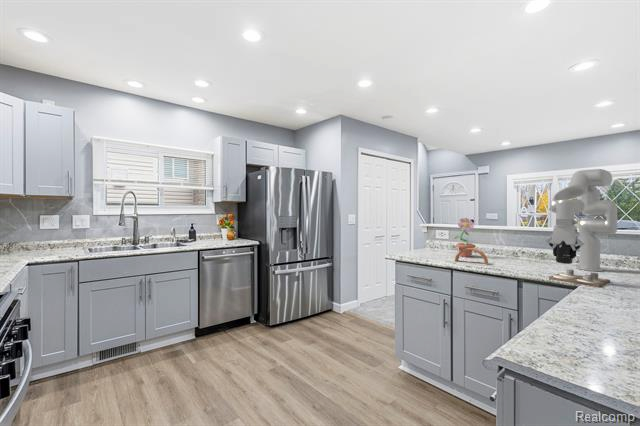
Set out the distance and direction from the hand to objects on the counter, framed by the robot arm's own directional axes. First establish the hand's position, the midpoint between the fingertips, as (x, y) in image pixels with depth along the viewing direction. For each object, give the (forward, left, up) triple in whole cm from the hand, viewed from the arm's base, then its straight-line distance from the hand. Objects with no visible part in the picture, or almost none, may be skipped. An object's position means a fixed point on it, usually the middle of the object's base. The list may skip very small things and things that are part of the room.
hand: (564, 256), depth 159 cm
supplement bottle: (0, 0, -4) cm, 4 cm away
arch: (-9, -55, -13) cm, 57 cm away
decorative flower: (-31, -72, -12) cm, 79 cm away
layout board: (-5, +5, -12) cm, 14 cm away
